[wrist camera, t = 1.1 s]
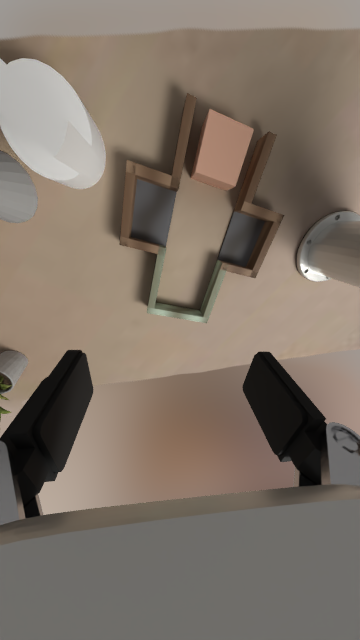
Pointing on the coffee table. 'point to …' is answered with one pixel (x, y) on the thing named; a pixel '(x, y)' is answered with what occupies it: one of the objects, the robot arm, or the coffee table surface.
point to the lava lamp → (15, 191)
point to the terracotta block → (221, 151)
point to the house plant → (10, 372)
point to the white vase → (49, 124)
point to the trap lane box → (156, 211)
